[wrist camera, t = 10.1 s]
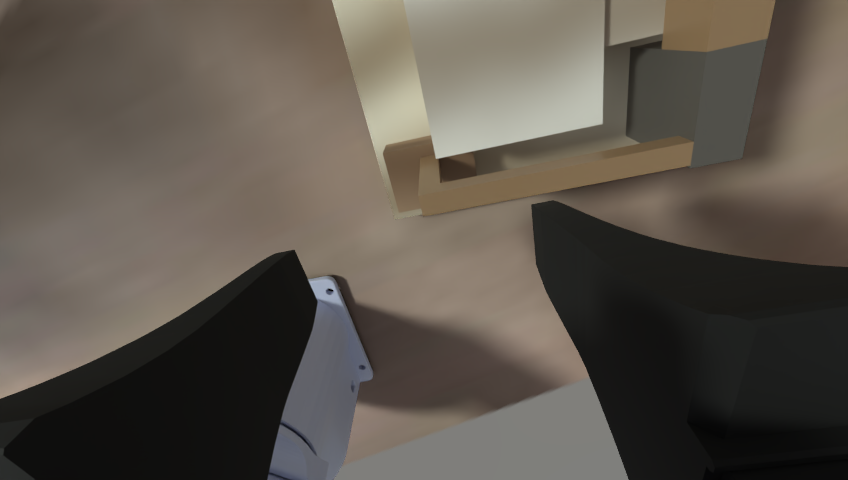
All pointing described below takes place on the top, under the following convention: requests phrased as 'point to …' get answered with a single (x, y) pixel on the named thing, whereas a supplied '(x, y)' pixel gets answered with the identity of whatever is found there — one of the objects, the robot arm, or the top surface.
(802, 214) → the top surface
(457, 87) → the stand
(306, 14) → the top surface
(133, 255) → the top surface
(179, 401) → the robot arm
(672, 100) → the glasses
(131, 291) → the top surface
